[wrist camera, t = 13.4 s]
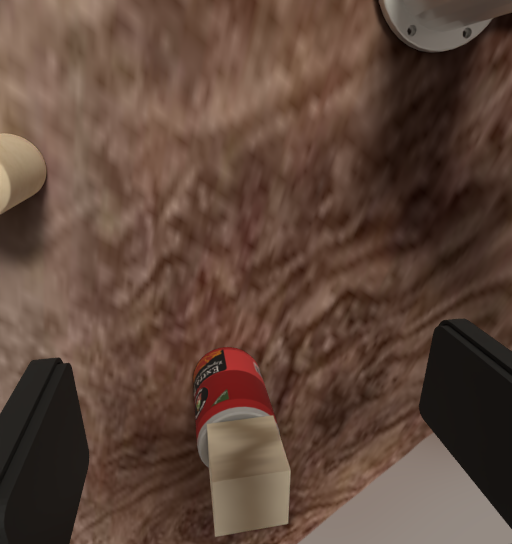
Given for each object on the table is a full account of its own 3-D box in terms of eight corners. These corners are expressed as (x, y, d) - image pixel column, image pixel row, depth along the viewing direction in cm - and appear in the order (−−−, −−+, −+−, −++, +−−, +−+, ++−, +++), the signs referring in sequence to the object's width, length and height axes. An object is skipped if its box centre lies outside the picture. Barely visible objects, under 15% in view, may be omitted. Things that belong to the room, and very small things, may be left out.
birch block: (273, 415, 36) (290, 470, 30) (271, 464, 38) (287, 523, 32) (206, 424, 35) (212, 482, 29) (209, 474, 37) (215, 536, 31)
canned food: (210, 335, 44) (220, 401, 34) (270, 358, 47) (296, 425, 37) (180, 388, 46) (182, 465, 36) (240, 407, 49) (257, 484, 39)
